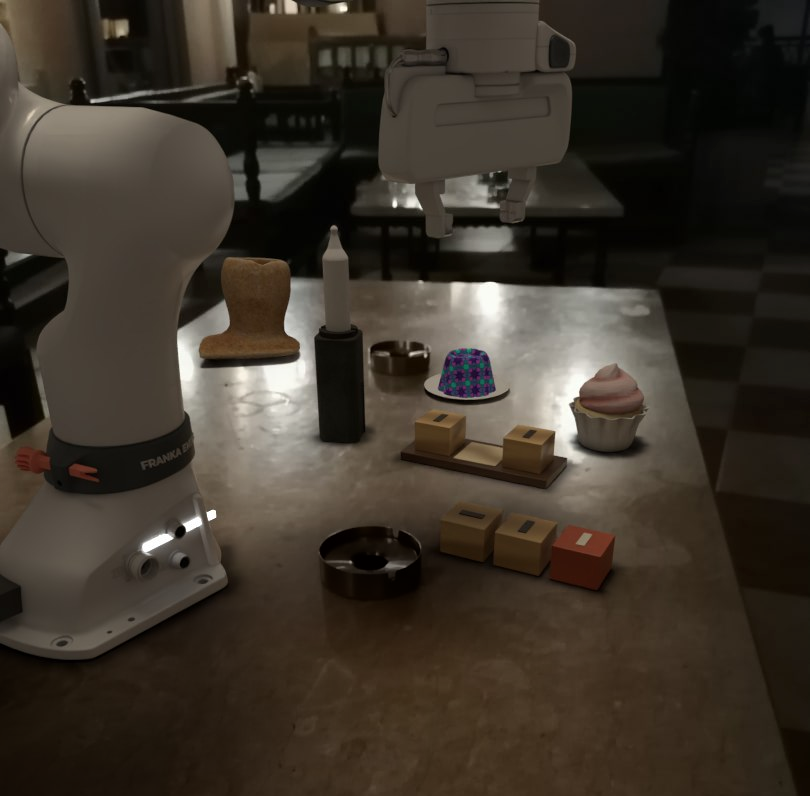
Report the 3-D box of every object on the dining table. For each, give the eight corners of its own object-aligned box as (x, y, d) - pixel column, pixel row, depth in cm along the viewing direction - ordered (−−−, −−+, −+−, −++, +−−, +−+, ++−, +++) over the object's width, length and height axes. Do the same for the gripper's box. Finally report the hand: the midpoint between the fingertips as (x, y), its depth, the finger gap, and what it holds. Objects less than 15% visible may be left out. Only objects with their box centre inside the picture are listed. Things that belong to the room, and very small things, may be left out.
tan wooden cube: (538, 576, 83) (541, 541, 81) (492, 565, 85) (494, 531, 83) (555, 554, 86) (557, 521, 84) (511, 544, 88) (512, 511, 86)
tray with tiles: (545, 489, 99) (548, 450, 97) (400, 459, 106) (399, 422, 104) (566, 465, 104) (570, 428, 102) (426, 438, 112) (427, 403, 109)
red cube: (597, 590, 80) (600, 555, 79) (548, 578, 82) (551, 544, 81) (611, 567, 84) (615, 533, 82) (565, 556, 86) (568, 523, 84)
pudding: (492, 372, 134) (493, 337, 131) (522, 399, 123) (524, 362, 121) (414, 380, 131) (414, 344, 128) (438, 408, 121) (438, 370, 118)
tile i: (483, 562, 85) (484, 528, 83) (440, 551, 87) (440, 518, 85) (501, 542, 88) (503, 509, 87) (459, 532, 90) (460, 499, 89)
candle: (357, 443, 110) (350, 230, 98) (317, 440, 111) (305, 229, 99) (367, 428, 115) (361, 222, 103) (328, 425, 116) (318, 221, 104)
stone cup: (299, 341, 148) (293, 247, 141) (300, 364, 138) (294, 263, 131) (206, 345, 147) (195, 250, 140) (199, 368, 136) (187, 266, 129)
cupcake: (624, 464, 104) (634, 381, 99) (552, 446, 109) (558, 365, 104) (657, 439, 111) (668, 360, 106) (588, 423, 116) (595, 346, 111)
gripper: (416, 49, 64) (417, 251, 70) (589, 46, 76) (576, 218, 83) (357, 49, 68) (363, 241, 74) (530, 46, 80) (522, 210, 87)
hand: (476, 228), depth 79 cm, fingers open, 8 cm apart
